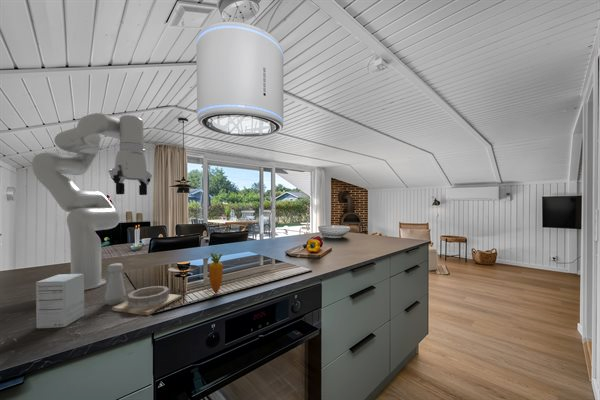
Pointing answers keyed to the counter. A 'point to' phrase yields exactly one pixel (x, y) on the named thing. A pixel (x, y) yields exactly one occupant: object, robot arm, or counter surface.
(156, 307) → the ring holder
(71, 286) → the supplement box
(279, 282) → the counter surface
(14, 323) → the counter surface
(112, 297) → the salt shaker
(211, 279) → the carrot
